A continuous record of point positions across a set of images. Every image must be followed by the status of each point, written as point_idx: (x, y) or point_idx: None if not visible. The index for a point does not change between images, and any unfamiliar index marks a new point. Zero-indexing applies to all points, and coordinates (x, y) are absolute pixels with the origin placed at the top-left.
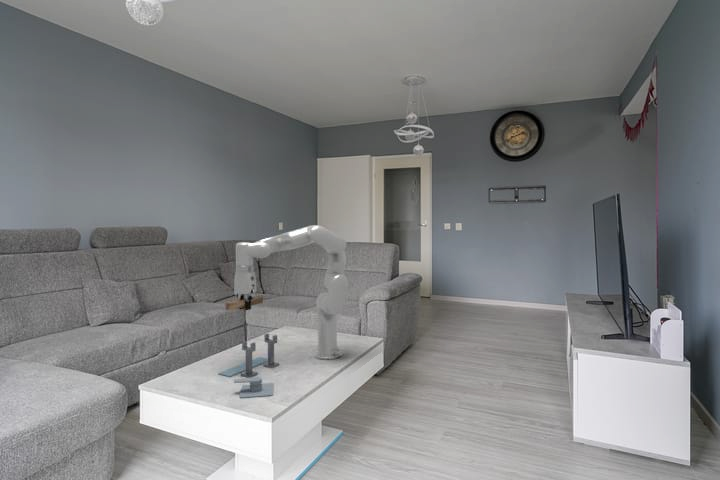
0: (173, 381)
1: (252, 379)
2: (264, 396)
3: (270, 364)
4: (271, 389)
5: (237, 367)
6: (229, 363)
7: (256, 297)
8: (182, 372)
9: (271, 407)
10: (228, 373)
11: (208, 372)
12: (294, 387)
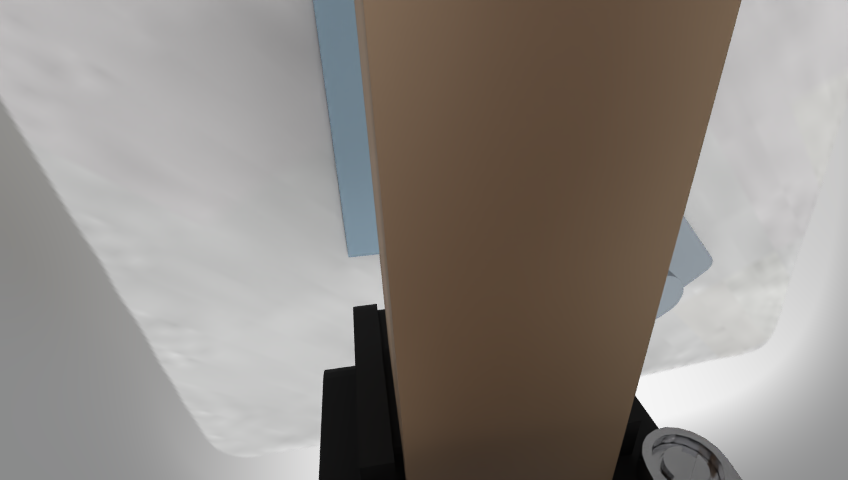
0: (264, 390)
1: None
2: (687, 281)
3: None
4: (689, 237)
5: (357, 149)
6: (226, 109)
7: (625, 85)
8: (174, 329)
9: (744, 313)
10: None
11: (278, 263)
12: (761, 160)
